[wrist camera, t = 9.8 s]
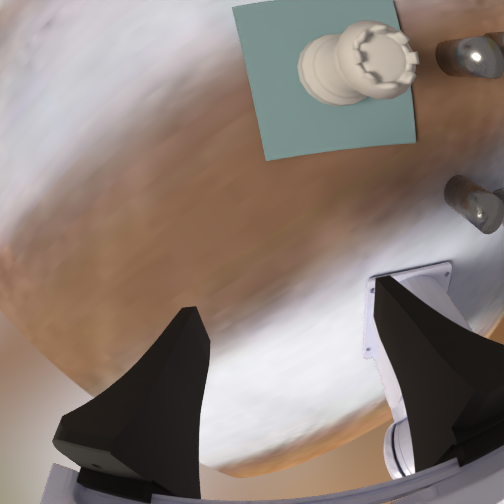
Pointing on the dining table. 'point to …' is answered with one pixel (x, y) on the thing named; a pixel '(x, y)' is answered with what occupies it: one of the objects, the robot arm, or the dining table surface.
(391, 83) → the rook chess piece
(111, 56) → the dining table surface
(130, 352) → the dining table surface
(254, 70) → the mat
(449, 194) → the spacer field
